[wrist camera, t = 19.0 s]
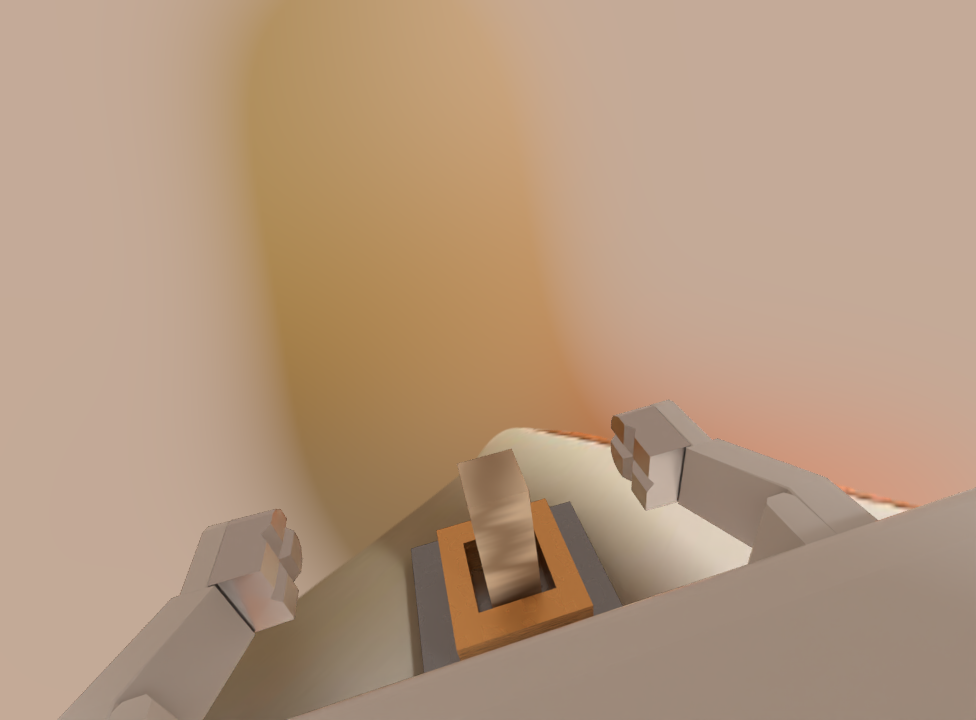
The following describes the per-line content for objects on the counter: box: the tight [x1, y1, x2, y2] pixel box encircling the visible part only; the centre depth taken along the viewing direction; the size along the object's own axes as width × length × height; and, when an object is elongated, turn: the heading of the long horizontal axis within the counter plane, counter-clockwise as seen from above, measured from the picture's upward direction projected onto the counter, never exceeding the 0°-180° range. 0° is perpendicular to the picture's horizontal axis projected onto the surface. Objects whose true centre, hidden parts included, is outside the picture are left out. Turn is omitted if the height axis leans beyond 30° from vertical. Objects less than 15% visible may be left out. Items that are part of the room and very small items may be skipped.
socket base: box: [411, 499, 622, 673], centre depth 37 cm, size 16×14×6 cm
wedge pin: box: [457, 449, 542, 608], centre depth 34 cm, size 4×4×14 cm
